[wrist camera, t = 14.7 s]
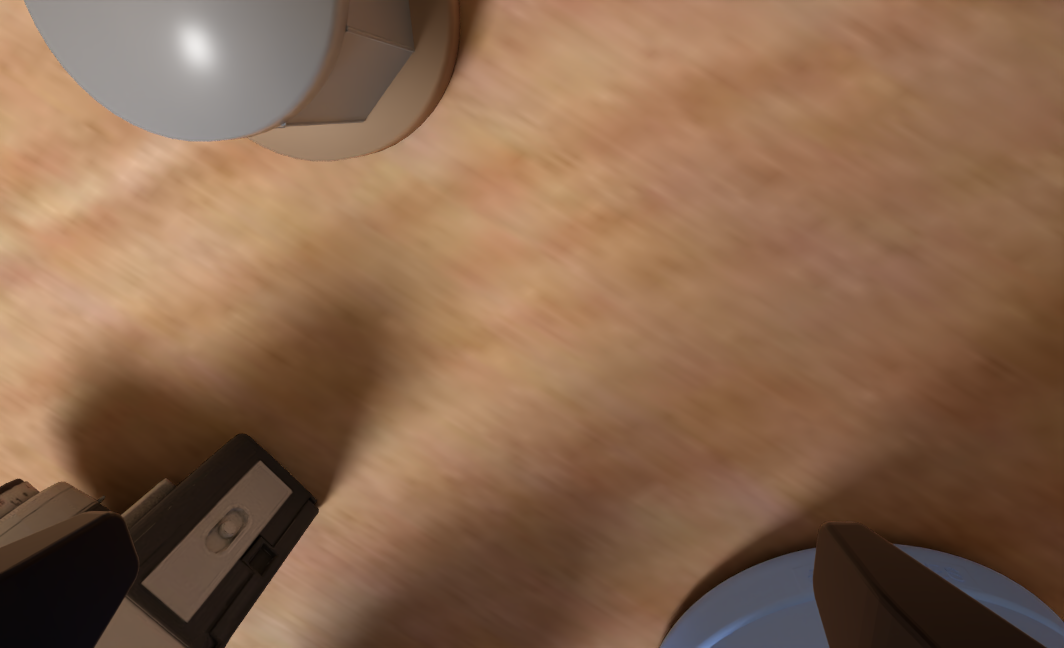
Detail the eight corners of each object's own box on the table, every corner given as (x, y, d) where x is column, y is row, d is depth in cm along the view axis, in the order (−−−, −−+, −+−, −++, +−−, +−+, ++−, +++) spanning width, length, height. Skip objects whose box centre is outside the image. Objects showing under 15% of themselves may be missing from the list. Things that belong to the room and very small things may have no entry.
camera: (167, 351, 21) (-173, 542, 12) (331, 507, 23) (145, 784, 13) (-22, 537, 25) (-385, 788, 16) (128, 658, 27) (-122, 951, 18)
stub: (472, 149, 18) (424, 165, 13) (233, 164, 18) (100, 184, 13) (444, -162, 15) (368, -296, 10) (168, -127, 16) (-27, -235, 11)
